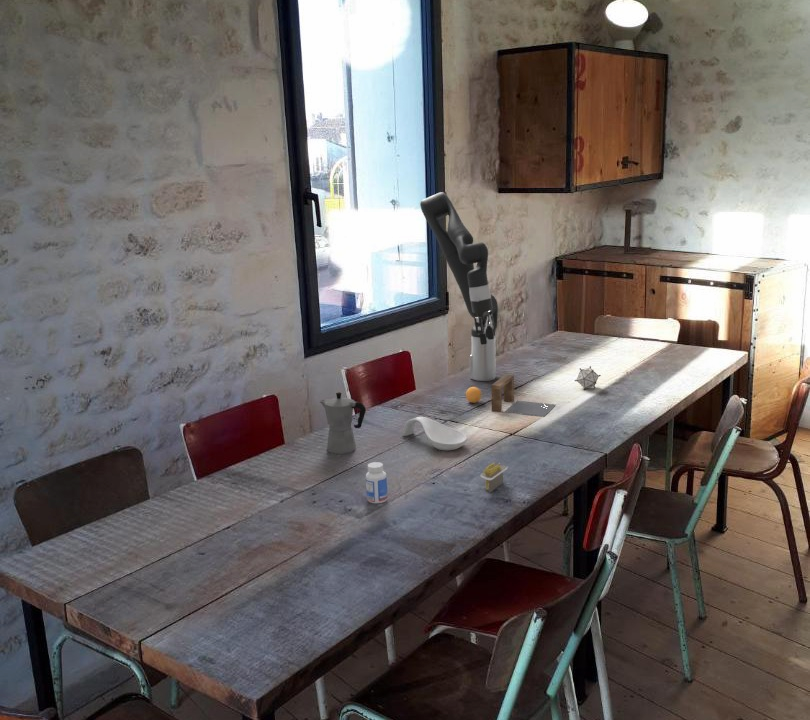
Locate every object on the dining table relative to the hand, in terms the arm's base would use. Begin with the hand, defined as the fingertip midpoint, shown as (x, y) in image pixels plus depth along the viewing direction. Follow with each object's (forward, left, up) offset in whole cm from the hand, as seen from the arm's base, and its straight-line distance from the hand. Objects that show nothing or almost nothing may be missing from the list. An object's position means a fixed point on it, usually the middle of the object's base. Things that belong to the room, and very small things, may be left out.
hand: (487, 341), depth 312 cm
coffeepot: (-19, -74, -19) cm, 79 cm away
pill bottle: (+8, -104, -19) cm, 106 cm away
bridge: (+11, -15, -19) cm, 27 cm away
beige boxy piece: (+33, -85, -19) cm, 93 cm away
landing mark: (+21, -15, -19) cm, 32 cm away
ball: (0, -15, -16) cm, 22 cm away
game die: (+33, +16, -19) cm, 41 cm away
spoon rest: (+4, -59, -19) cm, 62 cm away
